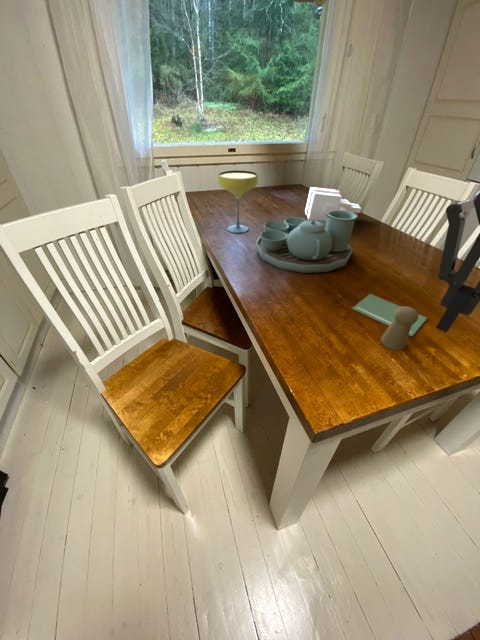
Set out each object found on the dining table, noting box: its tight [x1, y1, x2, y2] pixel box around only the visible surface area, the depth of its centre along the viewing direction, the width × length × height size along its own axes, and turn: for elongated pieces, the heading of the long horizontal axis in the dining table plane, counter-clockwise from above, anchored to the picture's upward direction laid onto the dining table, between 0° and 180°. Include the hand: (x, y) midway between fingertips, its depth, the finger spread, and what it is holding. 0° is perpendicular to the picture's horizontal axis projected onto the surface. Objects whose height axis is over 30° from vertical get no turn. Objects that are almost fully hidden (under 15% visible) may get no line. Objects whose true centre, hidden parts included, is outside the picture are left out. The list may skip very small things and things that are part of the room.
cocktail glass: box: [217, 170, 259, 234], centre depth 130 cm, size 18×18×25 cm
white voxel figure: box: [304, 186, 362, 221], centre depth 148 cm, size 15×25×28 cm
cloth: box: [351, 293, 428, 338], centre depth 84 cm, size 18×12×1 cm, turn 43°
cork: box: [380, 305, 419, 351], centre depth 70 cm, size 6×6×11 cm
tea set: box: [255, 210, 358, 274], centre depth 112 cm, size 40×40×16 cm
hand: (443, 326), depth 41 cm, fingers closed
